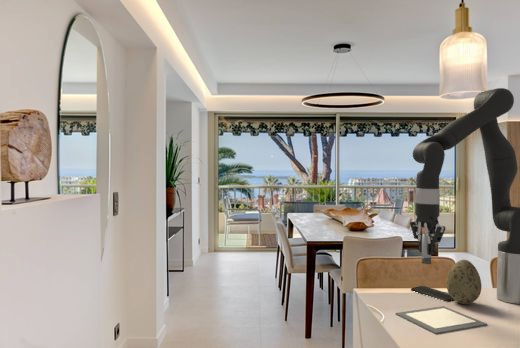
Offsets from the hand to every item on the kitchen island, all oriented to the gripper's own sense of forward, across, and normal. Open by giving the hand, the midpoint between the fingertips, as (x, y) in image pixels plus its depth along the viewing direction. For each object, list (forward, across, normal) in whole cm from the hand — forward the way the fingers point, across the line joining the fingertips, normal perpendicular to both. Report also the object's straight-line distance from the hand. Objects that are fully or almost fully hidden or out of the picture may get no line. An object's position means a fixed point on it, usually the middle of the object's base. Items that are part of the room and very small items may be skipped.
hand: (426, 253), depth 132 cm
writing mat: (+18, -11, +5) cm, 21 cm away
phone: (+18, +9, -13) cm, 24 cm away
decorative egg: (+18, -2, -15) cm, 23 cm away
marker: (+3, 0, 0) cm, 3 cm away
